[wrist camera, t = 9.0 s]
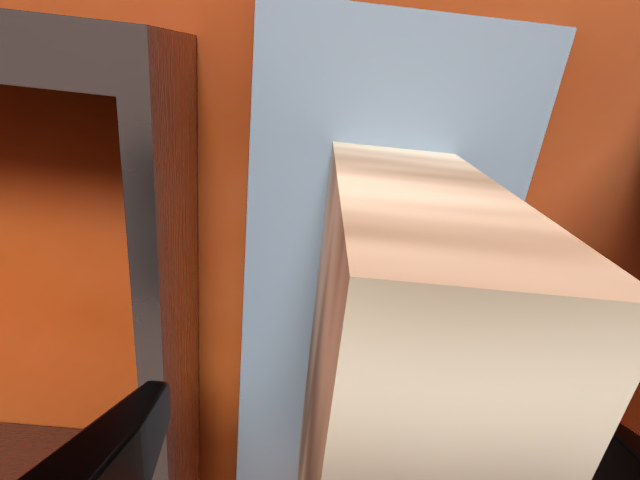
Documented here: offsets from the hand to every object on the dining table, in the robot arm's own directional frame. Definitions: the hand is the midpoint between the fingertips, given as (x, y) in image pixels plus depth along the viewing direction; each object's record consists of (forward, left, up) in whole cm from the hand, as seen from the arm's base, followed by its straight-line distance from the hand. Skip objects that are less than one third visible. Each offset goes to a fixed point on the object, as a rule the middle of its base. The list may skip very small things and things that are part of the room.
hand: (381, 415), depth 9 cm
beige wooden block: (0, 0, -4) cm, 4 cm away
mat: (0, 0, -4) cm, 4 cm away
